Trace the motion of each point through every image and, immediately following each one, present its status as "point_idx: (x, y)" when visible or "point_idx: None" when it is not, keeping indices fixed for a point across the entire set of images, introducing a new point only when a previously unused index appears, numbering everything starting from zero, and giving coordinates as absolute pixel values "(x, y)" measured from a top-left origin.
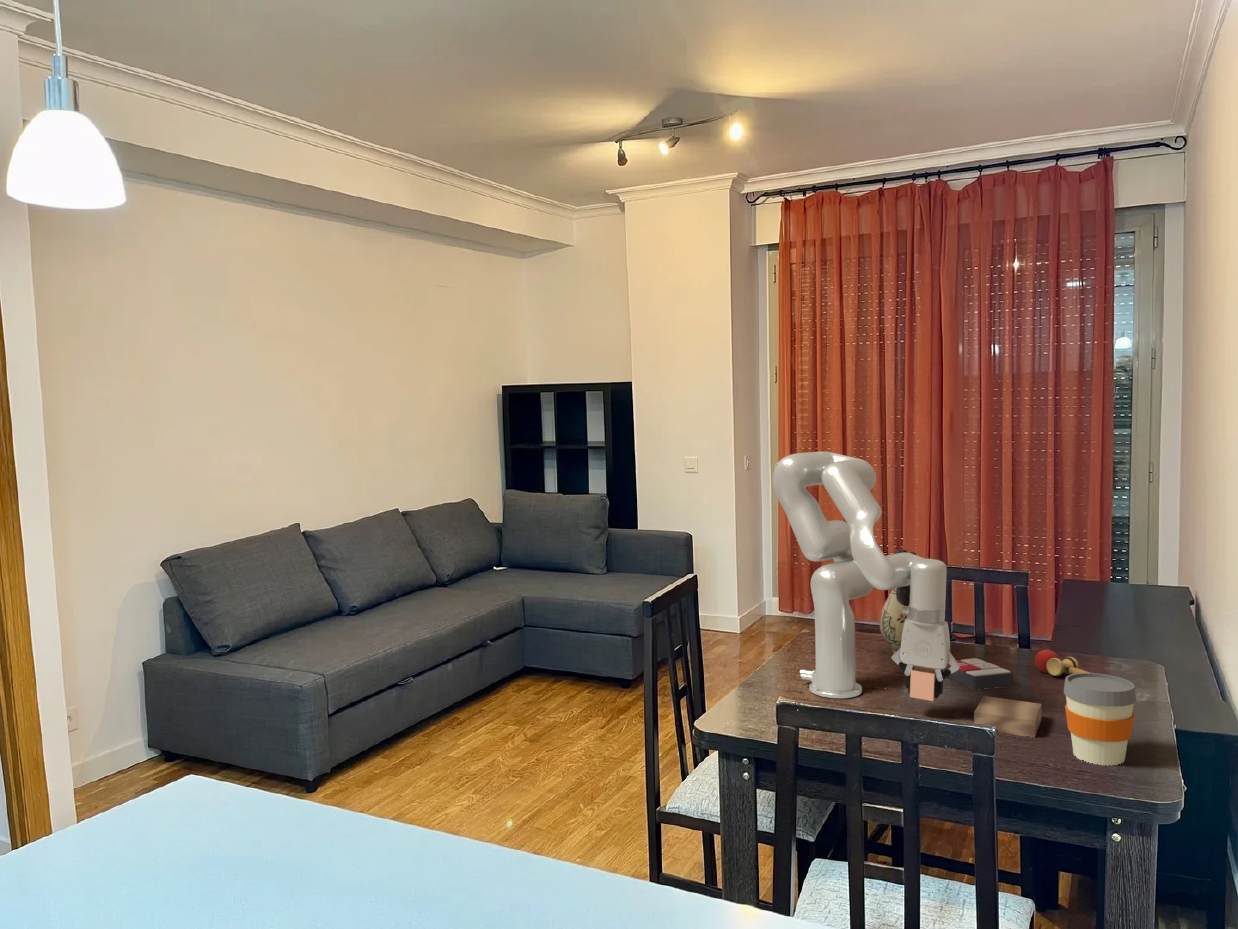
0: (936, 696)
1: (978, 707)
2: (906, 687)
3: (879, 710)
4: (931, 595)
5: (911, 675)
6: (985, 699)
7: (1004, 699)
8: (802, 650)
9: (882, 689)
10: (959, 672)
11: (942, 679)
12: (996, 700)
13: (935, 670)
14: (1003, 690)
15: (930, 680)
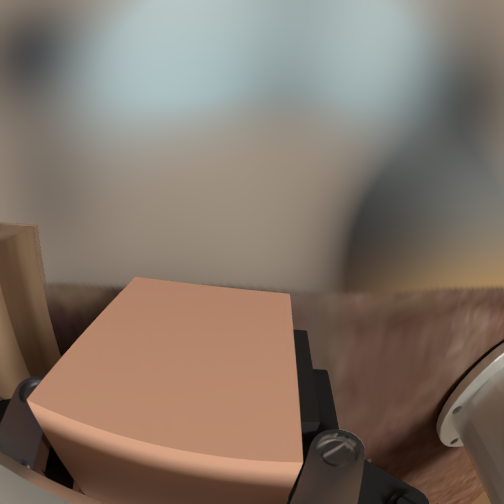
0: None
1: (3, 310)
2: (322, 370)
3: (409, 296)
4: None
5: (290, 417)
6: None
7: (3, 395)
8: (469, 498)
9: (377, 454)
10: None
11: (19, 384)
12: (9, 386)
13: (29, 456)
14: None
15: (87, 369)
